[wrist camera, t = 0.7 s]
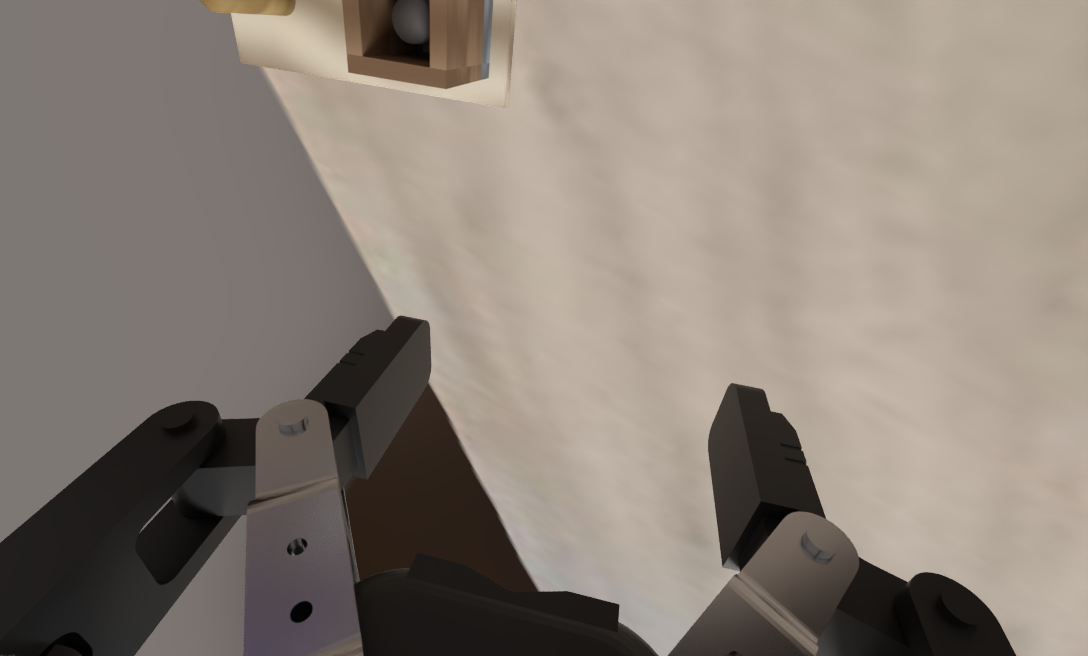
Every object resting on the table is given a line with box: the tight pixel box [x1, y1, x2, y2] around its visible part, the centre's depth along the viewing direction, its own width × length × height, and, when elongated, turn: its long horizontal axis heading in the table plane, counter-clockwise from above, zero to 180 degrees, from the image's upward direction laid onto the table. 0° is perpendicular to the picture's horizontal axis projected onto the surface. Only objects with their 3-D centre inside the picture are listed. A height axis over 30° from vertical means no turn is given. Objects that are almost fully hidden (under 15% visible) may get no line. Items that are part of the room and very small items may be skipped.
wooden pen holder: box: [342, 0, 493, 89], centre depth 27 cm, size 6×6×8 cm
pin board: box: [200, 0, 517, 108], centre depth 29 cm, size 9×20×7 cm, turn 83°
